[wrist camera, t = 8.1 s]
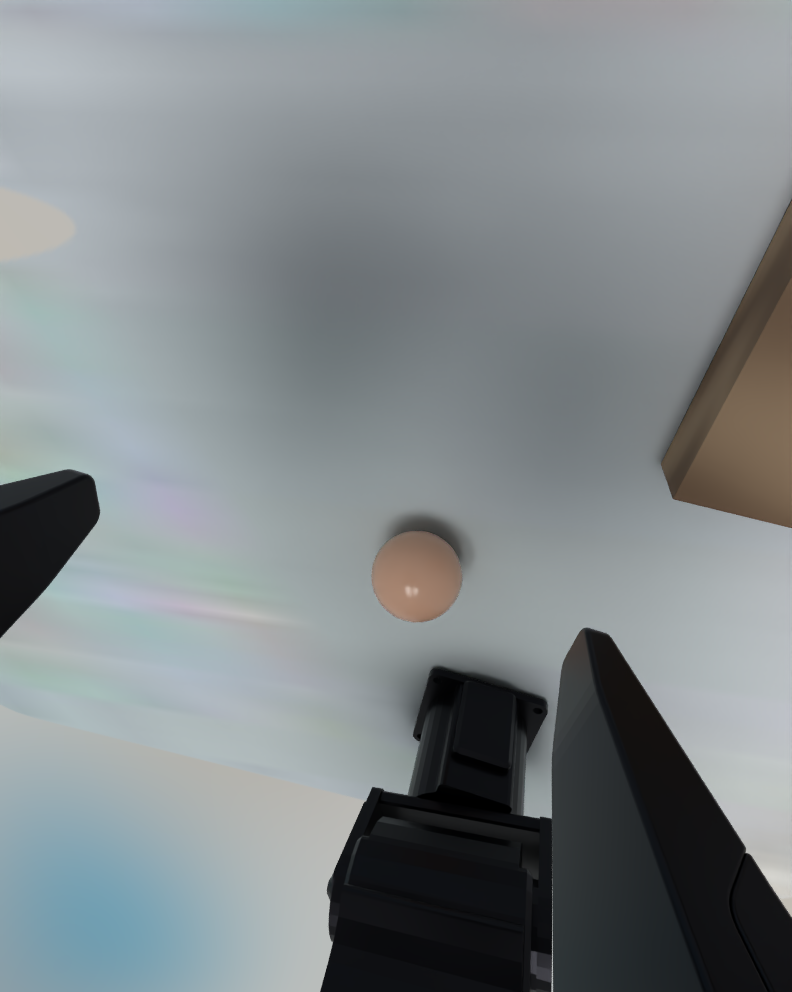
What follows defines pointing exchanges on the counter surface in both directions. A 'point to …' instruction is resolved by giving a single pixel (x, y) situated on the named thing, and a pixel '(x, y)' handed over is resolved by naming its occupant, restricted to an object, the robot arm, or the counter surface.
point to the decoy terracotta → (416, 576)
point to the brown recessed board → (745, 405)
